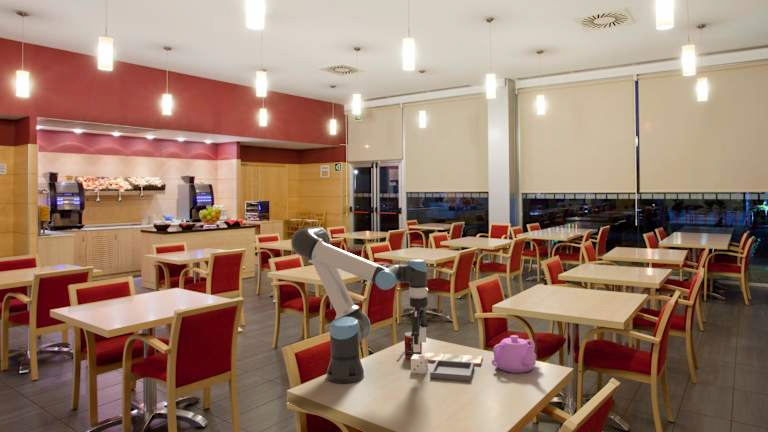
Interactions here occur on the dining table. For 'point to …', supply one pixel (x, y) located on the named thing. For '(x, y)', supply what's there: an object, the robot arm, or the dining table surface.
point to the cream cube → (419, 363)
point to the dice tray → (452, 370)
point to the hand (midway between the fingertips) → (420, 346)
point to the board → (451, 358)
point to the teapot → (514, 355)
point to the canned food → (410, 346)
